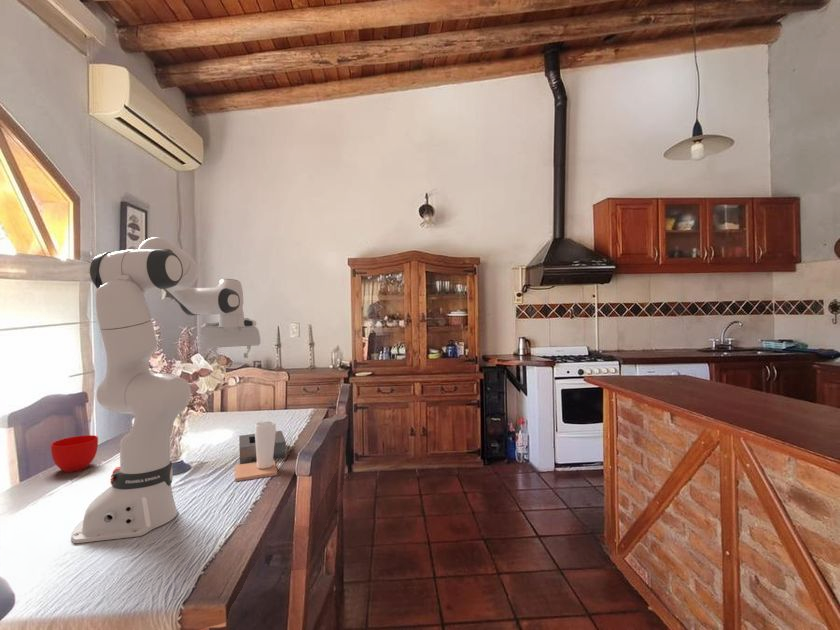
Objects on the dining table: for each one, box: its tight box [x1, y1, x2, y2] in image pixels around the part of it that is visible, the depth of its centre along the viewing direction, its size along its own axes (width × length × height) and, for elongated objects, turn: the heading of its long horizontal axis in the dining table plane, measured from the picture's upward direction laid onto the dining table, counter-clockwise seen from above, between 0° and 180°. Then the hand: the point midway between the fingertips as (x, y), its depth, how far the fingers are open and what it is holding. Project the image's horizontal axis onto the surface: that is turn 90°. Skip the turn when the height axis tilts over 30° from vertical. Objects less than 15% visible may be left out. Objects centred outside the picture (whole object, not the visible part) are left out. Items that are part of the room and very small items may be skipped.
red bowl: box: [50, 434, 99, 473], centre depth 152 cm, size 13×17×10 cm
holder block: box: [238, 430, 287, 465], centre depth 163 cm, size 16×16×6 cm
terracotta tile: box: [234, 459, 278, 482], centre depth 145 cm, size 13×13×1 cm
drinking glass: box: [254, 420, 276, 469], centre depth 147 cm, size 7×7×15 cm
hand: (232, 358), depth 160 cm, fingers open, 8 cm apart
